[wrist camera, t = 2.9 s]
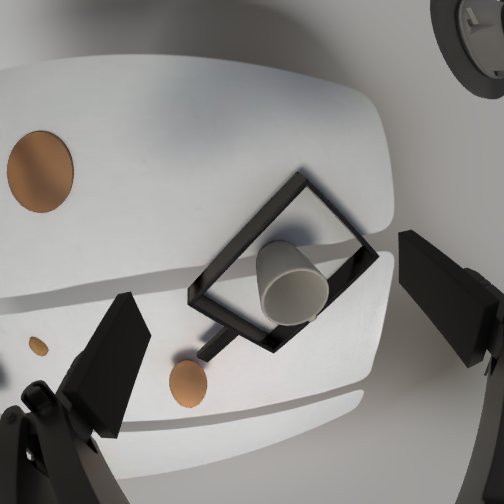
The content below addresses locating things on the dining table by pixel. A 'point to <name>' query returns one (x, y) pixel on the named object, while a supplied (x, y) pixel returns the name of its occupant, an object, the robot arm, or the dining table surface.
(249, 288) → the dining table surface
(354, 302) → the dining table surface
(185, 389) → the egg
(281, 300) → the cup
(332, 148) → the dining table surface
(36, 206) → the coaster
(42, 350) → the potato
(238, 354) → the dining table surface
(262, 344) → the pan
